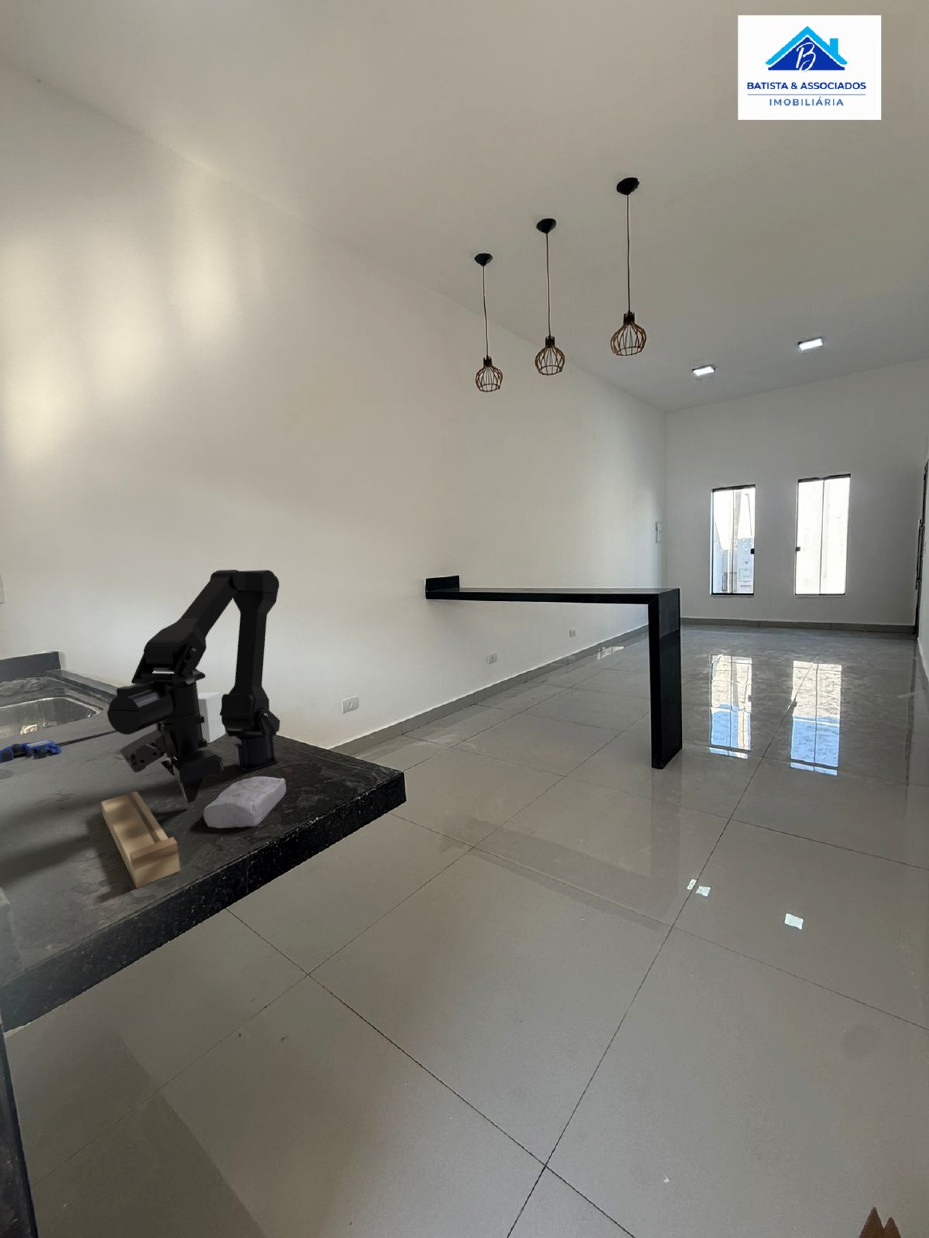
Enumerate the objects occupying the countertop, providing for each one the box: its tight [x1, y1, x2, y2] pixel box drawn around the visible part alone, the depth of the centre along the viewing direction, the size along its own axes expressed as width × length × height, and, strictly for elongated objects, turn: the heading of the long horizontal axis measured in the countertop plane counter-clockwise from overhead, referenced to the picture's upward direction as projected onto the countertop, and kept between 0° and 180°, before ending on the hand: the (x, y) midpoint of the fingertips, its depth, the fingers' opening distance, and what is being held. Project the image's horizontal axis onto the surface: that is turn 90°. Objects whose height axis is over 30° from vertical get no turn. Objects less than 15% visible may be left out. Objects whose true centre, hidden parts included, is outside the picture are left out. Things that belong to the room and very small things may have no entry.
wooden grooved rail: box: [100, 791, 181, 889], centre depth 75 cm, size 5×26×4 cm, turn 43°
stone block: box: [203, 776, 287, 829], centre depth 83 cm, size 12×5×10 cm
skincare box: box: [198, 692, 226, 744], centre depth 117 cm, size 10×6×10 cm, turn 83°
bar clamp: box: [0, 729, 119, 764], centre depth 120 cm, size 32×2×10 cm
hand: (190, 801), depth 84 cm, fingers closed
